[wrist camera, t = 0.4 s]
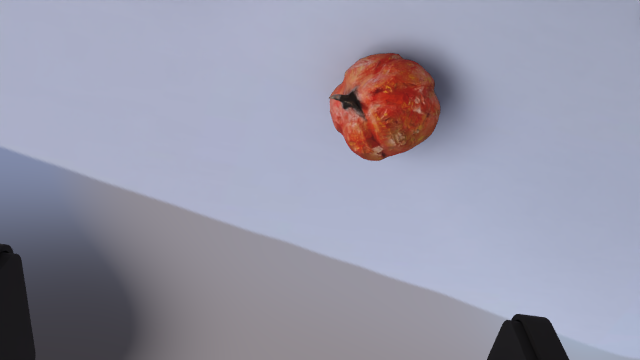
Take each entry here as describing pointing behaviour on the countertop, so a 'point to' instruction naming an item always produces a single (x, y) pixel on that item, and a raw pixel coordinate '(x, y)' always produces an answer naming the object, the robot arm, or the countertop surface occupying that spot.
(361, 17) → the countertop surface
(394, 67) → the pomegranate
